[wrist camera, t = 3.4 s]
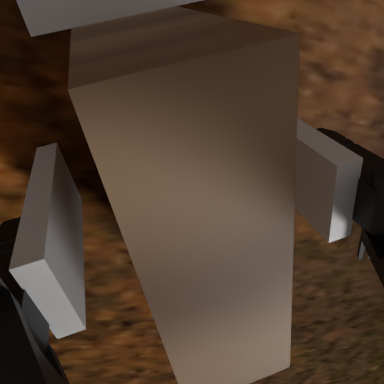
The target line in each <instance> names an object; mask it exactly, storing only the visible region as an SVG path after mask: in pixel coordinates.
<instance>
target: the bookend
mask: <svg viewBox="0 0 384 384" xmlns="http://www.w3.org/2000/svg"><path fill="white" fill-rule="evenodd" d="M16 1H17V4H18V6H19V9H20V11H21V14H22V16H23V18H24V21H25V23H26V26H27V28H28V31H29V33H30V36H31V37H33V36H38V35H43V34H47V33H52V32H57V31H62V30H66V29H71V40H70V56H69V72H68V88H67V90H68V92H69V95H70V98H71V100H72V103H73V106H74V108H75V111H76V114H77V116H78V119H79V122H80V124H81V127H82V130H83V132H84V135H85V138H86V140H87V143H88V146H89V148H90V151H91V153H92V156H93V159H94V161H95V164H96V167H97V169H98V172H99V175H100V177H101V180H102V183H103V185H104V188H105V191H106V193H107V196H108V199H109V201H110V204H111V207H112V209H113V212H114V215H115V217H116V220H117V223H118V225H119V228H120V230H121V233H122V236H123V238H124V241H125V244H126V246H127V249H128V252H129V254H130V257H131V260H132V262H133V265H134V268H135V270H136V273H137V276H138V278H139V281H140V284H141V286H142V289H143V292H144V294H145V297H146V299H147V302H148V305H149V307H150V310H151V313H152V315H153V318H154V321H155V323H156V326H157V329H158V331H159V334H160V337H161V339H162V342H163V345H164V347H165V350H166V353H167V355H168V358H169V361H170V363H171V366H172V369H173V371H174V374H175V376H176V379H177V382H178V384H250V383H252V382H254V381H257V380H259V379H262V378H264V377H266V376H269V375H271V374H274V373H276V372H278V371H281V370H283V369H286V368H288V367H290V342H291V309H292V277H293V244H294V211H295V178H296V146H297V113H298V80H299V47H300V33H295V32H291V31H286V30H282V29H277V28H273V27H268V26H264V25H259V24H255V23H250V22H246V21H241V20H237V19H232V18H228V17H223V16H219V15H214V14H210V13H205V12H201V11H196V10H192V9H187V8H183V7H178V6H179V5H184V4H189V3H193V2H198V1H203V0H16Z"/></svg>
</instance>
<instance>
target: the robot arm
mask: <svg viewBox="0 0 384 384" xmlns="http://www.w3.org/2000/svg"><path fill="white" fill-rule="evenodd" d="M295 209H296V210H297V211H298V212H299V213H300V214H301V215H302V216H303V217H304V218H305V219H306V220H307V221H308V222H309V223H310V224H311V225H312V226H313V227H314V228H315V229H316V230H317V231H318V232H319V233H320V234H321V235H322V236H323V237H324V239H325V240H326V241H327V242H328V243H330V242H333V241H335V240H338V239H341V238H344V237H347V236H350V235H351V229H352V223H353V220H354V221H355V222H356V223H358V224H359V225H360V226H361V227H362V232H361V237H360V242H359V247H358V253H357V254H358V259H362V257H363V252H364V249H366V251H367V253H368V258H370V259H371V261H372V264H373V266H374V268H375V270H376V272H377V274H378V276H379V278H380V280H381V282H382V285H383V287H384V158H383V159H382V158H381V157H379V156H377V155H375V154H374V153H372V152H370V151H368V150H367V149H365V148H363V147H361V146H360V145H358V144H354V142H353V141H351V140H349V139H346V137H344V136H342V135H340V134H339V133H337V132H335V131H332V130H328V129H324V128H318V129H314V128H313V127H311V126H310V125H308V124H306V123H305V122H303V121H301V120H300V119H298V118H297V146H296V178H295ZM49 328H50V329H51V331H52V332H53V334H54V335H55V336H56V338H57V339H59V338H62V337H65V336H68V335H70V334H73V333H76V332H79V331H82V330H84V329H86V320H85V289H84V258H83V227H82V199H81V197H80V194H79V192H78V190H77V187H76V185H75V183H74V181H73V178H72V176H71V174H70V171H69V169H68V167H67V164H66V162H65V160H64V158H63V155H62V153H61V151H60V148H59V146H58V144H57V143H53V144H49V145H46V146H42V147H38V148H37V149H36V154H35V158H34V162H33V167H32V171H31V175H30V180H29V184H28V188H27V193H26V197H25V201H24V206H23V210H22V214H21V217H18V218H15V219H11V220H8V221H4V222H3V223H2V224H1V225H0V384H70V383H69V381H68V379H67V377H66V375H65V373H64V370H63V368H62V366H61V364H60V362H59V360H58V357H57V355H56V353H55V351H54V350H53V348H52V347H51V346H50V344H49V343H48V337H49Z"/></svg>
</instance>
